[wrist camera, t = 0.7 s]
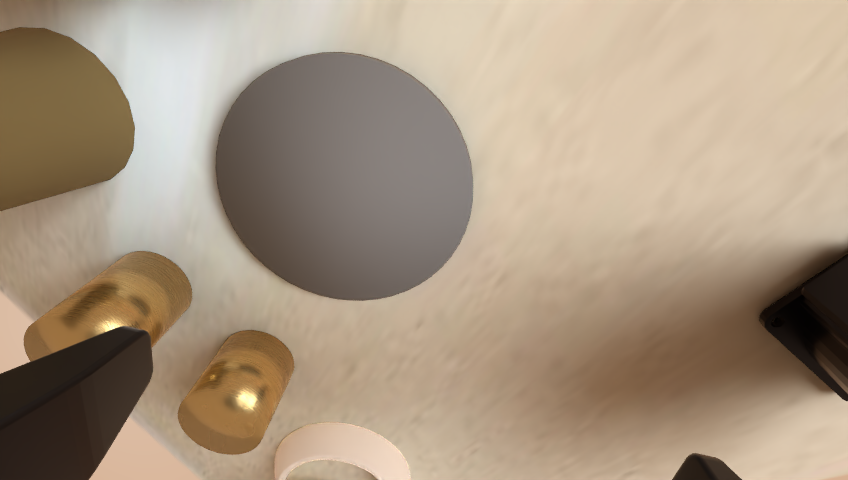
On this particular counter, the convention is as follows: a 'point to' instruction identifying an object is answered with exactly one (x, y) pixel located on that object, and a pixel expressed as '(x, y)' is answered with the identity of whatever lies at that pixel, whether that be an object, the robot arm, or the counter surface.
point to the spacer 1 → (115, 304)
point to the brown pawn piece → (57, 117)
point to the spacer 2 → (237, 393)
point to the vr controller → (341, 450)
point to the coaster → (345, 176)
